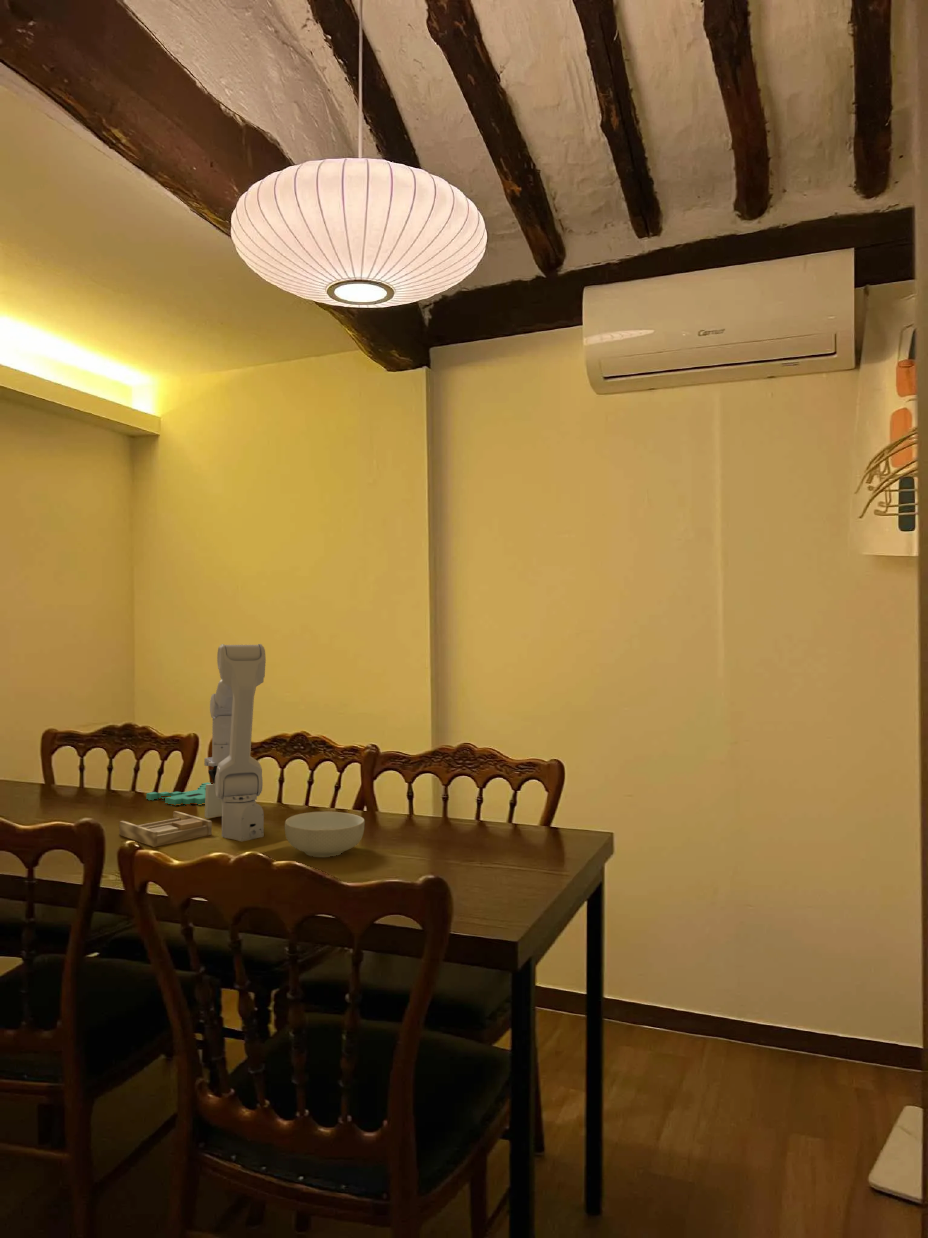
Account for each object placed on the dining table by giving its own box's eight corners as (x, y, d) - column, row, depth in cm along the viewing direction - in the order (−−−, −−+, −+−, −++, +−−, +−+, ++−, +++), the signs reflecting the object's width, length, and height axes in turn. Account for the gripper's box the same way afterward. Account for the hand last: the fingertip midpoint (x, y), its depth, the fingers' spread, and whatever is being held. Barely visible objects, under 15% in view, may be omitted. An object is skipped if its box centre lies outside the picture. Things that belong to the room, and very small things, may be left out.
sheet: (242, 812, 211) (243, 780, 211) (207, 818, 204) (208, 785, 204) (239, 811, 212) (240, 779, 212) (204, 817, 205) (205, 784, 205)
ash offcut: (178, 839, 185) (178, 828, 185) (156, 844, 181) (156, 832, 181) (168, 836, 188) (168, 825, 188) (146, 840, 184) (146, 829, 184)
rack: (211, 838, 190) (211, 821, 190) (153, 851, 179) (153, 832, 179) (176, 827, 200) (176, 811, 200) (119, 839, 189) (119, 821, 189)
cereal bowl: (324, 868, 168) (325, 833, 168) (267, 855, 177) (268, 821, 177) (380, 850, 182) (380, 817, 182) (324, 838, 191) (325, 807, 191)
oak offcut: (202, 834, 190) (202, 821, 190) (181, 838, 186) (181, 825, 186) (192, 831, 192) (192, 818, 192) (171, 835, 188) (172, 822, 188)
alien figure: (146, 801, 231) (189, 811, 219) (146, 793, 231) (189, 803, 219) (207, 790, 247) (251, 799, 235) (207, 782, 247) (251, 791, 235)
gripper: (193, 741, 210) (193, 796, 210) (227, 748, 200) (226, 805, 200) (218, 739, 215) (218, 792, 215) (252, 744, 205) (251, 800, 205)
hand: (223, 798), depth 208 cm, fingers closed on sheet
